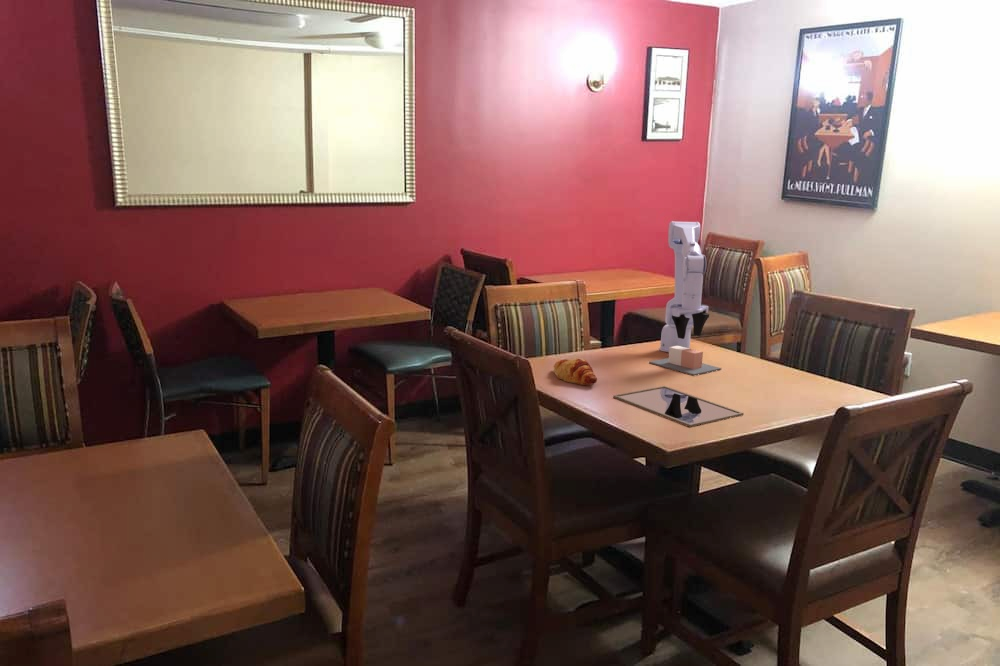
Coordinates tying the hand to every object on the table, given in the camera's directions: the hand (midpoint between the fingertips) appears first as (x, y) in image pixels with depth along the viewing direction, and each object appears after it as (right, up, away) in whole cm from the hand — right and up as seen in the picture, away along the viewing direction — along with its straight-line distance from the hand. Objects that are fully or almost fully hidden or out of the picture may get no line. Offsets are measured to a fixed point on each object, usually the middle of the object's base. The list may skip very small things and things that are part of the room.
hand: (689, 336), depth 244 cm
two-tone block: (-1, -9, +1) cm, 9 cm away
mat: (-1, -9, +1) cm, 9 cm away
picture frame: (-13, -19, -40) cm, 46 cm away
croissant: (-37, -13, -16) cm, 42 cm away
